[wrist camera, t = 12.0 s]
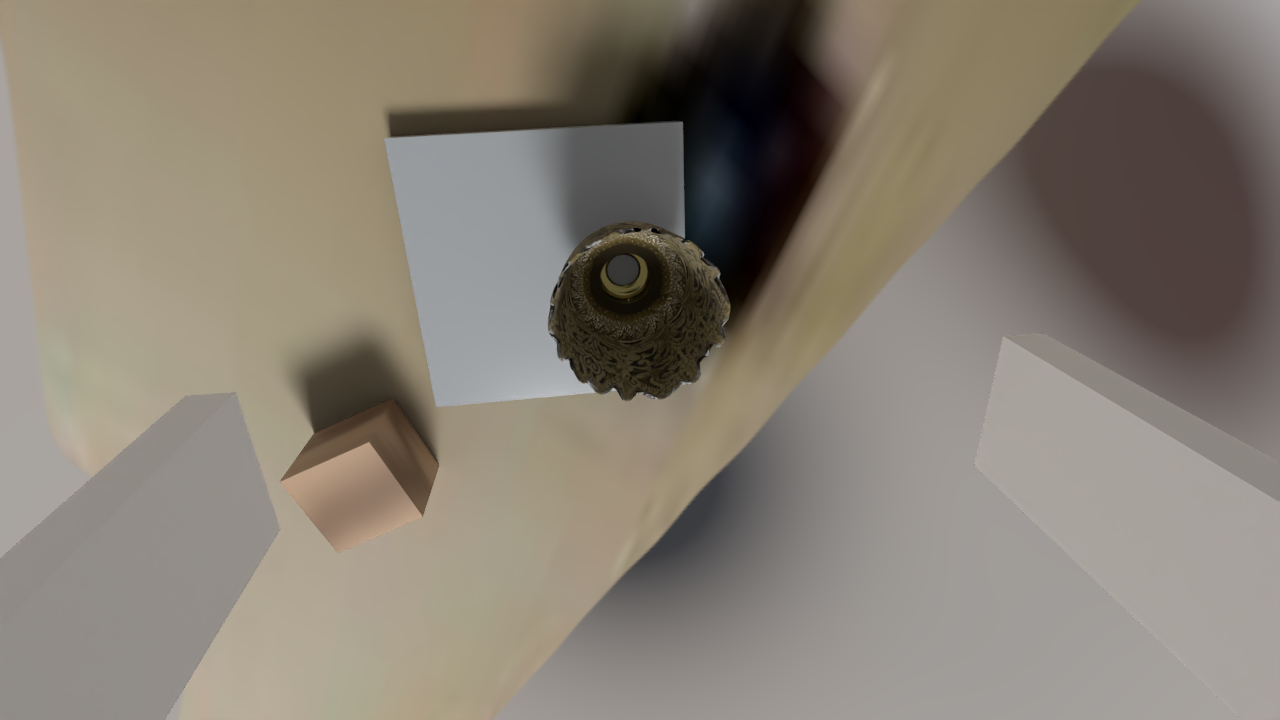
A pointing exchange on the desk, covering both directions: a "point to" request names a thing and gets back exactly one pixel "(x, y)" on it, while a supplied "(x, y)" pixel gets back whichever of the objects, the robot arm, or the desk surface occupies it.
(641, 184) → the plate
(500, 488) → the desk surface
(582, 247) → the dark brown round vessel
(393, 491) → the tan cube
